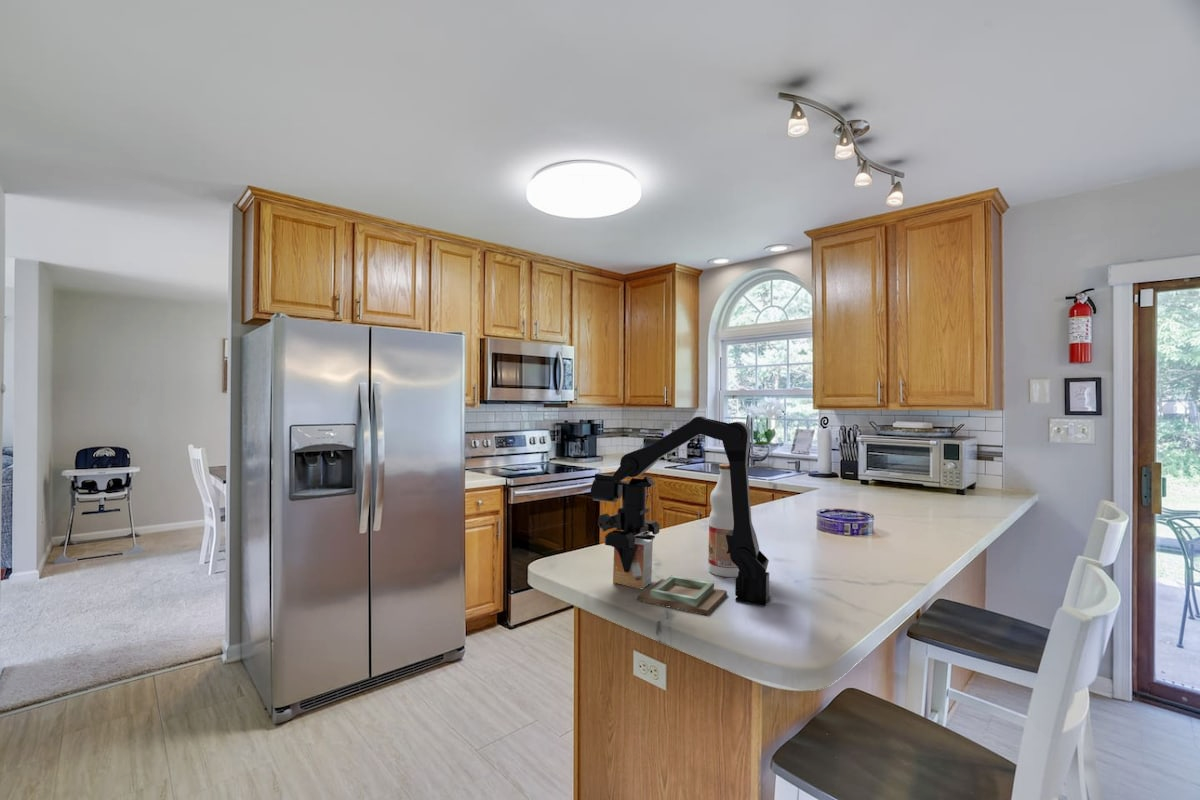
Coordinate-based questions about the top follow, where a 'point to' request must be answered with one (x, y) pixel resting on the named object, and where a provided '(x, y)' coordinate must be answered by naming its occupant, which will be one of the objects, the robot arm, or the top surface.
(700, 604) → the board
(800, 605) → the top surface
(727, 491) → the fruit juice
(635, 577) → the small box
